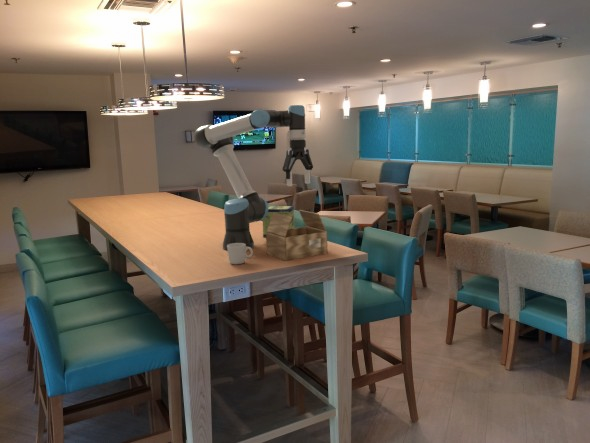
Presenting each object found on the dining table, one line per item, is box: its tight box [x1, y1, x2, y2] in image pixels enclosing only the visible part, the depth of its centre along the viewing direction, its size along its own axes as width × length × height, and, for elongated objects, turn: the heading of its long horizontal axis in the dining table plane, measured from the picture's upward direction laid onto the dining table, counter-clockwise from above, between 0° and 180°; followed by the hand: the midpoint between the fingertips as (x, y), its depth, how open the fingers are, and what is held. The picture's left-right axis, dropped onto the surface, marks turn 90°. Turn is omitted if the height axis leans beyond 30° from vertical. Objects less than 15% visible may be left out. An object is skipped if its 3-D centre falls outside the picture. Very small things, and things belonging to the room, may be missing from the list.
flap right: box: [298, 209, 327, 232], centre depth 219 cm, size 1×16×9 cm, turn 32°
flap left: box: [267, 213, 292, 237], centre depth 211 cm, size 1×16×9 cm, turn 31°
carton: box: [265, 226, 328, 262], centre depth 217 cm, size 22×18×10 cm
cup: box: [226, 243, 254, 265], centre depth 203 cm, size 11×8×8 cm
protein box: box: [262, 205, 295, 238], centre depth 259 cm, size 10×16×16 cm
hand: (298, 184), depth 226 cm, fingers open, 13 cm apart
